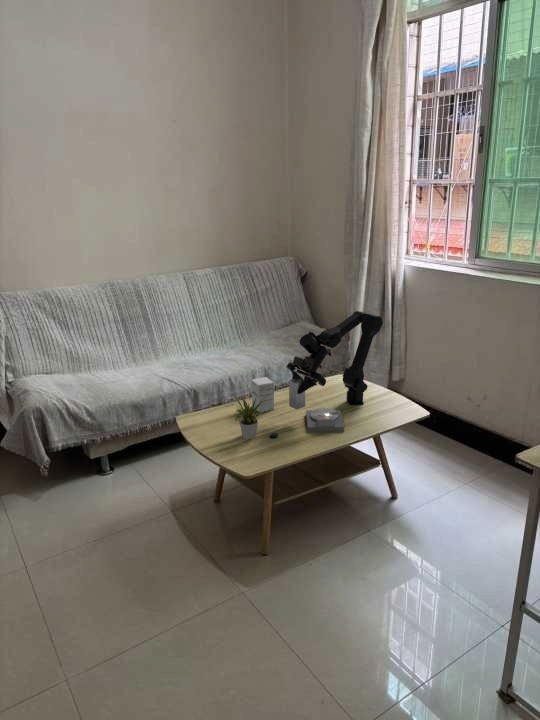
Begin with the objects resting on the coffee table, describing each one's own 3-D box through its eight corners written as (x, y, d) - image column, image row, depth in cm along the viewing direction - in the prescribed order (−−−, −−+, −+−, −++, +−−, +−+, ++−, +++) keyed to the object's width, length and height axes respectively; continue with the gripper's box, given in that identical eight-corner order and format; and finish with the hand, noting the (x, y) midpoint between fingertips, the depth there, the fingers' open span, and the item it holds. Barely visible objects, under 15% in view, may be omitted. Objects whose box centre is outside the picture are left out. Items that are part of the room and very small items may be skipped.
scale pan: (336, 410, 230) (336, 407, 230) (339, 422, 220) (339, 419, 219) (309, 410, 230) (309, 408, 230) (311, 422, 220) (311, 419, 219)
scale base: (339, 414, 231) (340, 402, 229) (344, 431, 216) (344, 419, 214) (306, 414, 231) (306, 402, 230) (308, 432, 216) (308, 419, 214)
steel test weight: (298, 403, 225) (297, 377, 222) (305, 406, 222) (305, 380, 218) (289, 405, 223) (288, 380, 219) (296, 409, 219) (296, 383, 216)
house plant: (220, 439, 211) (218, 399, 206) (238, 425, 223) (237, 387, 217) (253, 447, 205) (251, 406, 200) (270, 432, 216) (270, 393, 211)
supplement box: (251, 406, 240) (250, 379, 236) (267, 403, 243) (266, 376, 239) (258, 413, 234) (258, 385, 230) (274, 409, 237) (274, 382, 232)
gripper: (289, 343, 224) (268, 375, 221) (320, 354, 210) (298, 388, 207) (304, 357, 231) (284, 388, 229) (335, 369, 217) (314, 402, 214)
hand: (294, 391), depth 219 cm, fingers closed on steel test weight, 4 cm apart
